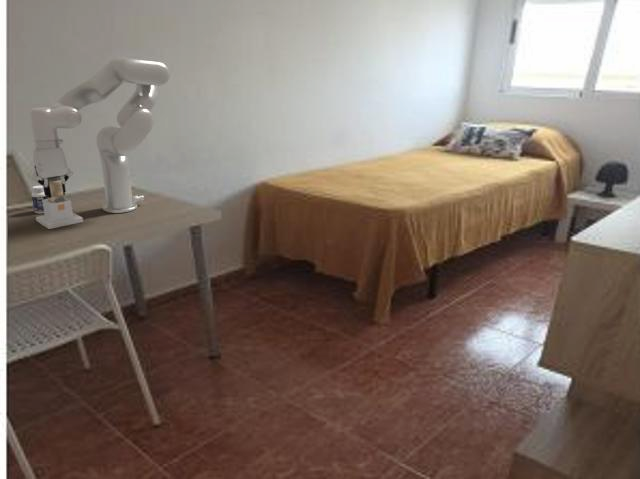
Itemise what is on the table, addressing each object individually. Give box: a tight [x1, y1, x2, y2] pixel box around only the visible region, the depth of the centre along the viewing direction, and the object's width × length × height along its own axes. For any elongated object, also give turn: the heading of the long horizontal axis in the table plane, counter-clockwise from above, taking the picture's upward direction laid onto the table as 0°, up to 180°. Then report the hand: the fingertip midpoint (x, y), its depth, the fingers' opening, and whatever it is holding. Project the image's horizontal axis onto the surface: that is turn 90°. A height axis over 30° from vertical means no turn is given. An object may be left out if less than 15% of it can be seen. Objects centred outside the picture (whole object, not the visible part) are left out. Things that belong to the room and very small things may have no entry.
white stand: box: [35, 196, 84, 230], centre depth 192 cm, size 12×12×9 cm
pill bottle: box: [31, 185, 48, 214], centre depth 202 cm, size 5×5×10 cm
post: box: [48, 177, 65, 203], centre depth 190 cm, size 4×4×14 cm
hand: (55, 195), depth 190 cm, fingers closed on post, 4 cm apart
